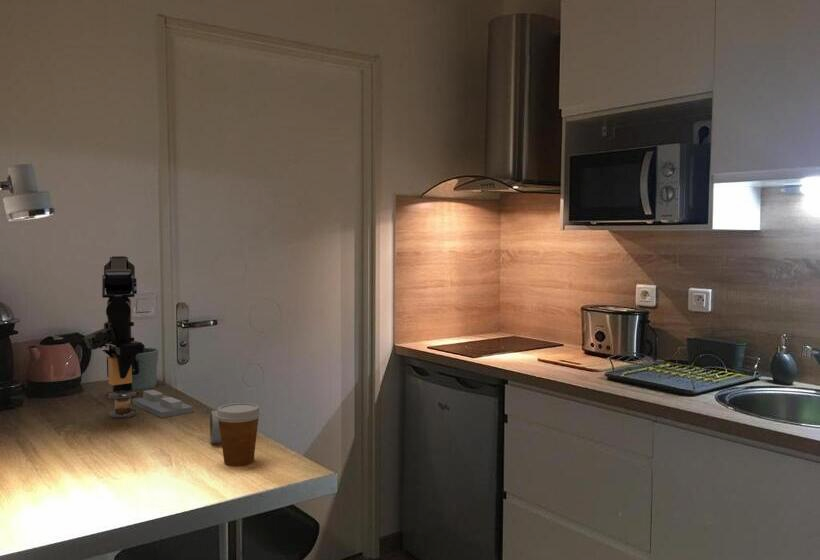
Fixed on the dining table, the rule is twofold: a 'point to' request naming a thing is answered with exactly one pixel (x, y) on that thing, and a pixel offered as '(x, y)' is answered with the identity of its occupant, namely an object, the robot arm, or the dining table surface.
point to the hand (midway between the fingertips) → (120, 377)
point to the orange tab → (117, 373)
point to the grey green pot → (146, 369)
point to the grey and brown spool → (122, 404)
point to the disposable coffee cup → (238, 432)
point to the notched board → (159, 408)
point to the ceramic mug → (214, 428)
